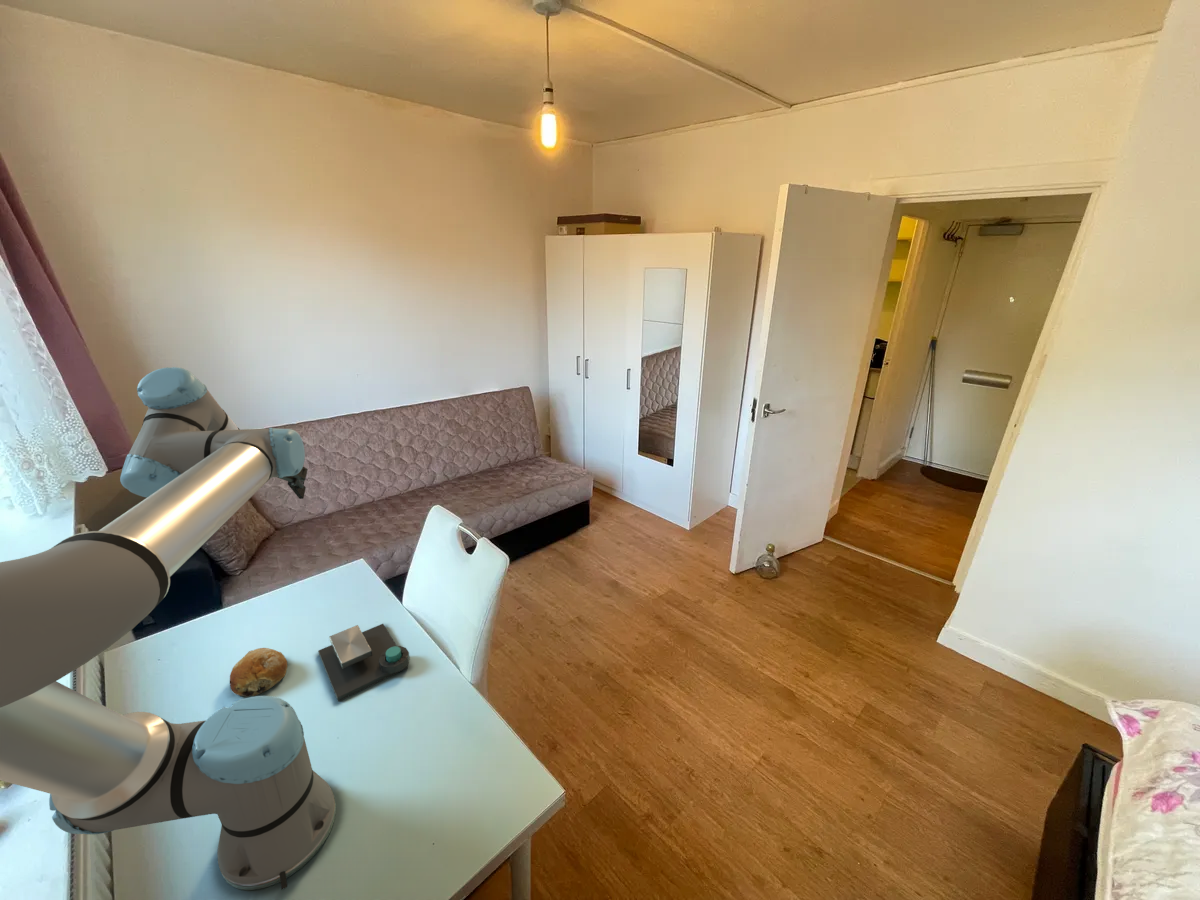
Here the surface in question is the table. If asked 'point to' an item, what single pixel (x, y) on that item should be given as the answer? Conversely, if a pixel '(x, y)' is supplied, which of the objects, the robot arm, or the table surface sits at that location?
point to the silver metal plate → (350, 646)
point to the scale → (363, 664)
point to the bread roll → (257, 672)
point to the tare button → (393, 654)
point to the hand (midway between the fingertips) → (267, 494)
